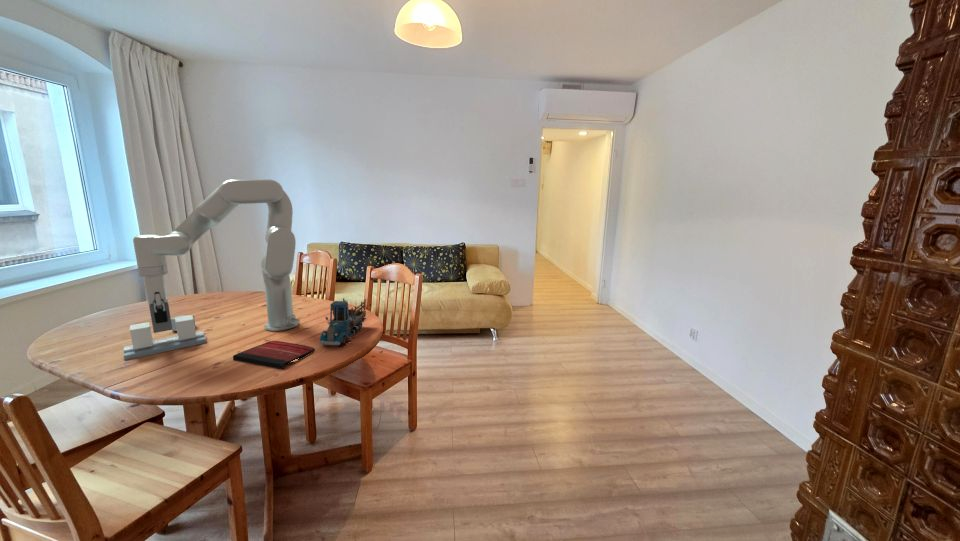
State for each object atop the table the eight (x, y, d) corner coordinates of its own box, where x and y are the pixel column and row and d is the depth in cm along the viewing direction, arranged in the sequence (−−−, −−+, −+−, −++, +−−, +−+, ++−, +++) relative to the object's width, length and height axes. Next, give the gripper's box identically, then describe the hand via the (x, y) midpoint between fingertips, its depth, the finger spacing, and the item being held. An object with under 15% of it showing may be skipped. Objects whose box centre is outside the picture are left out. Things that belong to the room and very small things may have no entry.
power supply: (195, 326, 151) (193, 315, 150) (187, 330, 146) (185, 319, 145) (180, 326, 150) (178, 315, 149) (172, 330, 146) (170, 319, 145)
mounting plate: (202, 334, 143) (202, 331, 142) (206, 342, 135) (205, 338, 135) (125, 350, 128) (124, 346, 128) (124, 360, 121) (123, 355, 121)
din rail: (203, 333, 140) (203, 331, 140) (204, 336, 137) (204, 334, 137) (124, 349, 125) (123, 347, 125) (124, 352, 123) (123, 350, 123)
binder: (282, 364, 116) (232, 355, 122) (282, 370, 117) (232, 361, 123) (317, 346, 131) (271, 338, 137) (318, 352, 132) (271, 344, 138)
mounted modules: (194, 332, 139) (191, 314, 137) (196, 336, 135) (193, 319, 133) (133, 344, 128) (130, 325, 126) (133, 349, 123) (129, 330, 122)
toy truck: (315, 349, 132) (311, 310, 129) (344, 324, 156) (342, 291, 153) (343, 350, 131) (341, 311, 128) (368, 325, 156) (367, 292, 152)
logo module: (171, 325, 134) (166, 297, 132) (172, 329, 130) (167, 301, 127) (153, 328, 131) (148, 300, 128) (153, 333, 126) (148, 304, 124)
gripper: (138, 267, 129) (146, 315, 133) (138, 276, 117) (147, 329, 121) (166, 265, 134) (173, 311, 138) (168, 273, 122) (176, 324, 126)
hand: (161, 319), depth 129 cm, fingers closed on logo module, 6 cm apart
